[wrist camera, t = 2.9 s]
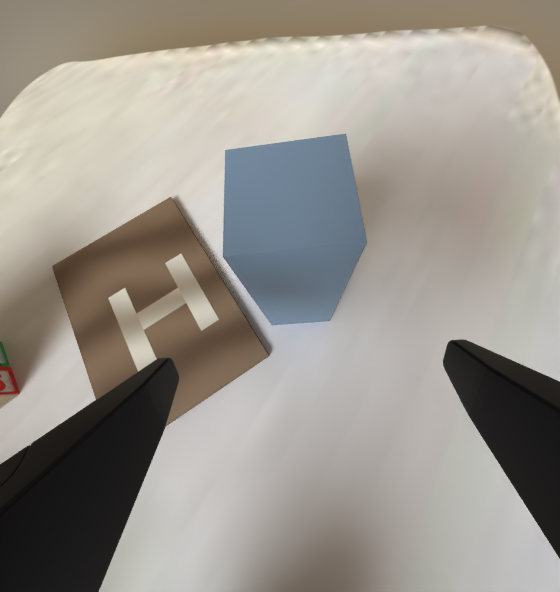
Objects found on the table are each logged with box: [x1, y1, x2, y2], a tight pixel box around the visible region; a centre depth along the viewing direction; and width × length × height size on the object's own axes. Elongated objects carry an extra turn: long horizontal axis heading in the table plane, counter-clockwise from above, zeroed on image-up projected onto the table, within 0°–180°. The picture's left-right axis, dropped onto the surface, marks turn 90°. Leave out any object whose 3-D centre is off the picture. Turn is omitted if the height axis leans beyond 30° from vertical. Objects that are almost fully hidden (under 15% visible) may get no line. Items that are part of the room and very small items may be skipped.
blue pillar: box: [223, 134, 367, 325], centre depth 15 cm, size 5×5×13 cm
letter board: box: [52, 197, 269, 426], centre depth 22 cm, size 20×14×1 cm
